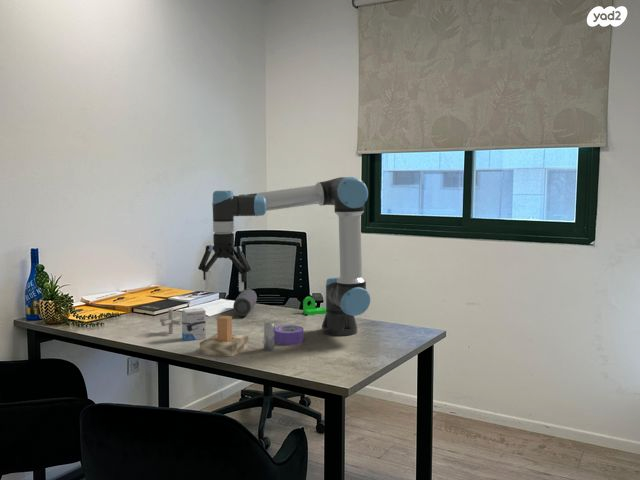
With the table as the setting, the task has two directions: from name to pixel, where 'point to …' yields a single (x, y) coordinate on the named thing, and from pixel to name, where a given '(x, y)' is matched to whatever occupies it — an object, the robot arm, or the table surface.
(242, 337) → the socket block
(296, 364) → the table surface
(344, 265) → the robot arm
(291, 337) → the tape roll
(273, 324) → the round bit
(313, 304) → the mechanical part
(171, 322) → the pipe connector
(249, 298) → the bluetooth speaker
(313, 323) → the table surface
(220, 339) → the square bit
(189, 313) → the ink box
